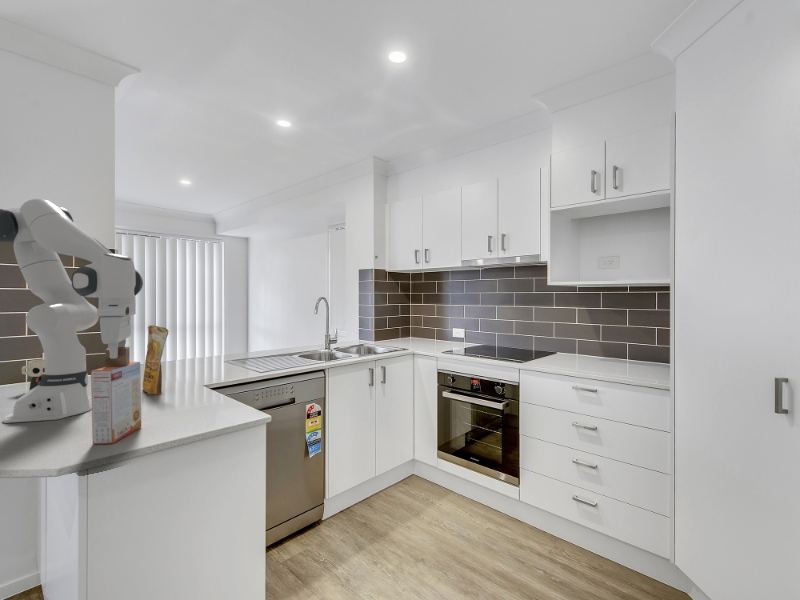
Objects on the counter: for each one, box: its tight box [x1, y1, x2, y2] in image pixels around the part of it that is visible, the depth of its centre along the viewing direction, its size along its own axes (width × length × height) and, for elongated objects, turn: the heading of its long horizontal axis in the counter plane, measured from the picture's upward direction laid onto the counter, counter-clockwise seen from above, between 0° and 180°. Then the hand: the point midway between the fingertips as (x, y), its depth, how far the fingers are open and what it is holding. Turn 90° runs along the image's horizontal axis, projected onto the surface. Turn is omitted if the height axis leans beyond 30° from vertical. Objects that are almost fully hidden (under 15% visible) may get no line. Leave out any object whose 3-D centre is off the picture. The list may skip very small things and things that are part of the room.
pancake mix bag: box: [142, 325, 169, 395], centre depth 167 cm, size 7×19×28 cm, turn 46°
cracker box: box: [90, 361, 142, 445], centre depth 114 cm, size 14×6×21 cm, turn 5°
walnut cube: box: [104, 346, 131, 367], centre depth 114 cm, size 5×5×5 cm
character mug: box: [21, 359, 45, 391], centre depth 166 cm, size 11×7×13 cm, turn 143°
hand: (117, 355), depth 114 cm, fingers open, 8 cm apart
